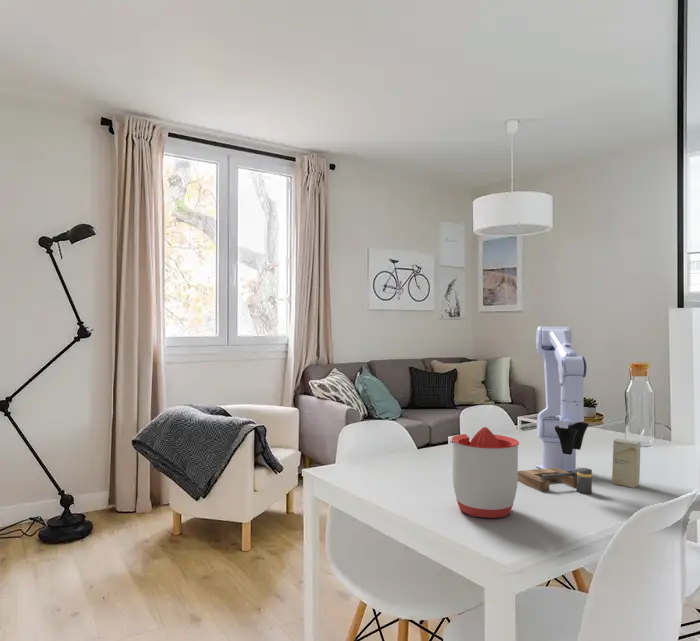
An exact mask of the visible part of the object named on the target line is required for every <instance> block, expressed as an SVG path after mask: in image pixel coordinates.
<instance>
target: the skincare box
mask: <svg viewBox="0 0 700 641" xmlns="http://www.w3.org/2000/svg"><path fill="white" fill-rule="evenodd" d="M612 443H613V446H612V449H613V450H612V475H611V476H612V477H611V480H612V481H611V482H612V484H613V485H614V484H615V485H618V486H619V485H620V486H623V487H629V488H632V489H635V488H638V487H639V486H640V474H641V472H640V470H641V469H640V468H641V445H642V444H641V441H636V440H630V439H629V440H628V439H623V438H616V439H614V440H613V441H612Z"/></svg>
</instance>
